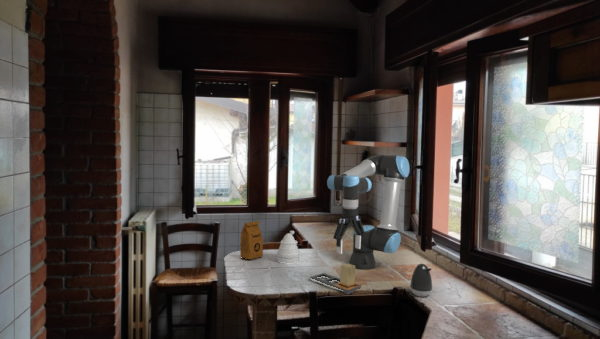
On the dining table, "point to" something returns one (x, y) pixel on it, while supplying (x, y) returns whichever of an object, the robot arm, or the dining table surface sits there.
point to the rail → (346, 290)
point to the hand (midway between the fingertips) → (348, 250)
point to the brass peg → (347, 275)
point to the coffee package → (251, 241)
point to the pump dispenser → (421, 281)
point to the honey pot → (288, 249)
